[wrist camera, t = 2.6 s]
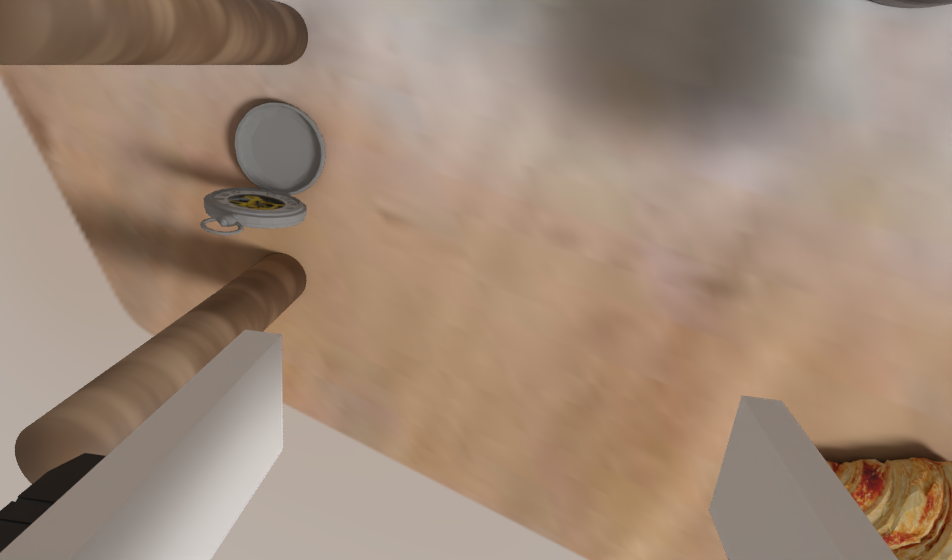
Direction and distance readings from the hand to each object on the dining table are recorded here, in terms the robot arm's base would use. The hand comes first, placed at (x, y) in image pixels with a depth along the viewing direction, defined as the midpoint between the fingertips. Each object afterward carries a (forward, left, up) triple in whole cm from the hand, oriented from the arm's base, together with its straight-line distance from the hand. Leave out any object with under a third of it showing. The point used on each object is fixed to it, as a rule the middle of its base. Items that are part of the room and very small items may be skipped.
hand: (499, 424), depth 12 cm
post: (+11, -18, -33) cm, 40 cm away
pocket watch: (+2, -18, -34) cm, 38 cm away
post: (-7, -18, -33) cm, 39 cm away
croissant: (+23, +35, -34) cm, 54 cm away
